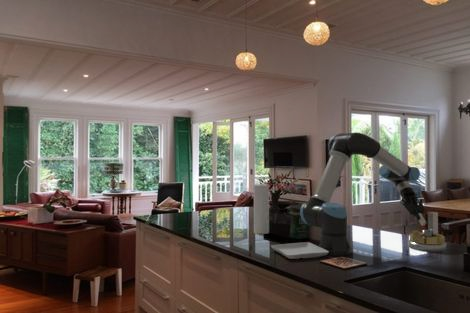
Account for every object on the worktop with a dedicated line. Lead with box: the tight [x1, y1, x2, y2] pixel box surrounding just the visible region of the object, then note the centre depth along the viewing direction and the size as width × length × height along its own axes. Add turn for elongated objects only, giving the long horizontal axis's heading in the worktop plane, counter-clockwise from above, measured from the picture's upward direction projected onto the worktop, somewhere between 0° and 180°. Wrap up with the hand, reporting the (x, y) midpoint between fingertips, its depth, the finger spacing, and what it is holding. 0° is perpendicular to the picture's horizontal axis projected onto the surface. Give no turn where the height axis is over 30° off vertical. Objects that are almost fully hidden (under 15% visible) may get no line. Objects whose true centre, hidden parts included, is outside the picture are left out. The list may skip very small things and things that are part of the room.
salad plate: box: [270, 241, 329, 260], centre depth 182 cm, size 21×21×3 cm
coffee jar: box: [289, 205, 308, 240], centre depth 220 cm, size 10×8×19 cm
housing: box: [408, 228, 447, 253], centre depth 194 cm, size 17×17×9 cm
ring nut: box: [409, 211, 446, 244], centre depth 195 cm, size 16×15×14 cm
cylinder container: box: [253, 183, 270, 235], centre depth 237 cm, size 9×9×30 cm
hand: (423, 224), depth 206 cm, fingers closed
